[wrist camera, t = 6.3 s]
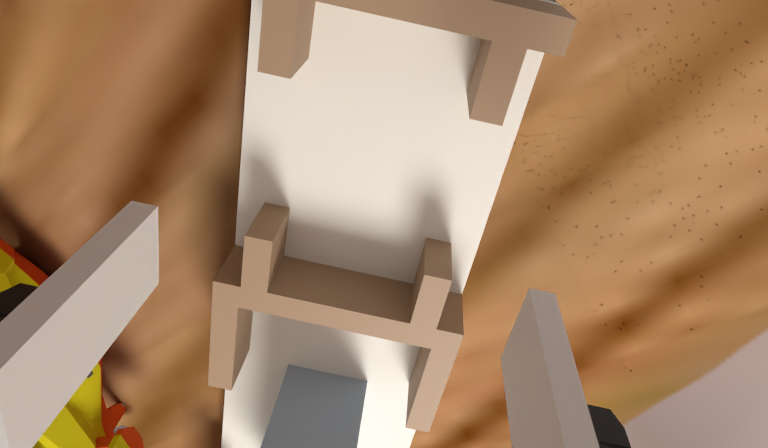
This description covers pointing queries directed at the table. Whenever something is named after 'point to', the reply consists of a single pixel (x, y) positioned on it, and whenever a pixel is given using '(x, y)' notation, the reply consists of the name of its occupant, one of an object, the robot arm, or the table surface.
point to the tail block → (316, 411)
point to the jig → (367, 196)
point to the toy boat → (86, 407)
